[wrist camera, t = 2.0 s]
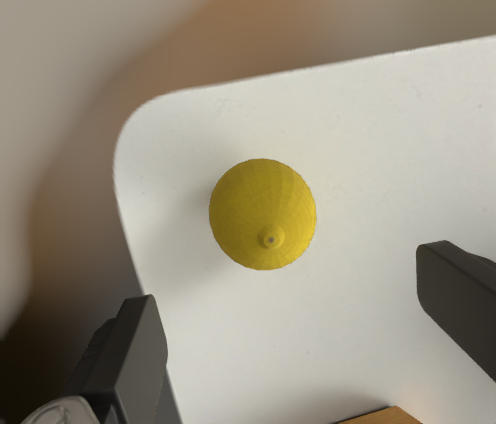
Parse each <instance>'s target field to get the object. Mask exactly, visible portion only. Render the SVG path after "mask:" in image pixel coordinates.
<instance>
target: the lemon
mask: <svg viewBox="0 0 496 424" xmlns="http://www.w3.org/2000/svg"><path fill="white" fill-rule="evenodd" d="M209 220H210V226H211V229H212V232H213V235H214V238H215V239H216V241H217V243H218V244H219V246H220V247H221V249H222V250H223V251H224V252H225V253H226V254H227V255H228V256H229V257H230V258H231V259H232V260H234V261H235V262H237V263H239V264H241V265H243V266H244V267H247V268H251V269H255V270H273V269H278V268H282V267H284V266H286V265H288V264H290V263H292V262H293V261H295V260H296V259H297V258H298V257H300V256H301V255H302V253H303V252H304V251H305V250H306V248H307V247H308V246H309V244H310V242H311V239H312V237H313V235H314V231H315V225H316V207H315V202H314V199H313V196H312V193H311V191H310V188H309V187H308V185H307V184H306V183H305V181H304V180H303V178H302V177H301V176H300V175H299V174H298V173H297V172H295V171H294V170H293V169H292V168H290V167H289V166H287V165H285V164H283V163H280V162H278V161H275V160H269V159H252V160H248V161H245V162H242V163H239V164H237V165H236V166H234V167H233V168H231V169H230V170H228V171H227V172H226V173H225V174H224V175H223V176H222V177H221V179H220V180H219V181H218V183H217V185H216V186H215V188H214V190H213V192H212V195H211V200H210V205H209Z"/></svg>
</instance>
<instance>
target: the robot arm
mask: <svg viewBox="0 0 496 424" xmlns="http://www.w3.org/2000/svg"><path fill="white" fill-rule="evenodd" d="M416 273H417V295H418V299H419V302H420V304H421V306H422V308H423V310H424V311H425V312H426V313H427V314H428V315H429V316H430V317H431V318H432V319H433V320H434V321H435V322H436V323H437V324H438V325H439V326H440V327H441V328H442V329H443V330H444V331H445V332H446V333H447V334H448V335H449V336H450V337H451V338H452V339H453V340H454V341H455V342H456V343H457V344H458V345H459V346H460V347H461V348H462V349H463V350H464V351H465V352H466V353H467V354H468V355H469V356H470V357H471V358H472V359H473V360H474V361H475V362H476V363H477V364H478V365H479V366H480V367H481V368H482V369H483V370H484V371H485V372H486V373H487V374H488V375H489V376H490V377H491V378H492V379H493V380H494V381H495V382H496V263H495V262H493V261H491V260H489V259H487V258H484V257H481V256H478V255H474V254H471V253H468V252H466V251H464V250H463V249H461V248H459V247H457V246H456V245H454V244H452V243H451V242H449V241H446V240H443V241H438V242H432V243H427V244H421V245H419V246H418V248H417V251H416ZM167 357H168V349H167V341H166V337H165V333H164V329H163V326H162V322H161V319H160V315H159V312H158V308H157V304H156V301H155V298H154V296H153V295H152V294H149V295H144V296H139V297H133V298H128V299H125V301H124V302H123V304H122V306H121V308H120V310H119V312H118V314H117V316H116V318H112V319H108V321H106V322H105V323H104V324H103V325H102V326H101V327H100V328H99V329H98V330H97V331H96V332H95V333H94V335H93V337H92V339H91V341H90V342H89V344H88V348H86V350H85V352H84V354H83V355H82V359H80V361H79V362H78V364H77V366H76V368H75V370H74V372H73V373H72V375H71V377H70V379H69V381H68V382H67V384H66V386H65V388H64V390H63V391H62V393H61V395H60V397H59V399H56V400H53V401H51V402H49V403H47V404H45V405H43V406H42V407H40V408H39V409H37V410H36V411H35V412H33V413H32V414H31V415H30V416H29V417H27V418H26V419H25V420H24V421H23V422H22V423H21V424H154V422H155V417H156V412H157V407H158V402H159V397H160V393H161V388H162V383H163V378H164V373H165V368H166V364H167Z"/></svg>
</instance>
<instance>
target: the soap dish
mask: <svg viewBox="0 0 496 424" xmlns="http://www.w3.org/2000/svg"><path fill="white" fill-rule="evenodd" d="M337 424H423V423H421V422H420V421H418V420H417V419H415V418H414V417H412V416H411V415H410V414H408V413H407V412H405V411H404V410H402V409H401V408H399V407H397V406H394V407H387V408H386V409H384V410H381V411H377V412H374V413H370V414H367V415H364V416H361V417H357V418H354V419H351V420H347V421H344V422H341V423H337Z"/></svg>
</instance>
